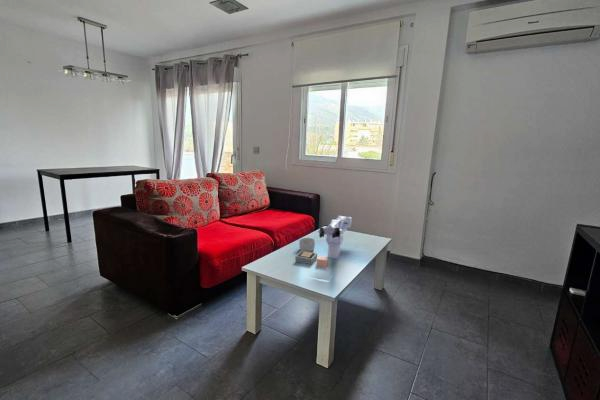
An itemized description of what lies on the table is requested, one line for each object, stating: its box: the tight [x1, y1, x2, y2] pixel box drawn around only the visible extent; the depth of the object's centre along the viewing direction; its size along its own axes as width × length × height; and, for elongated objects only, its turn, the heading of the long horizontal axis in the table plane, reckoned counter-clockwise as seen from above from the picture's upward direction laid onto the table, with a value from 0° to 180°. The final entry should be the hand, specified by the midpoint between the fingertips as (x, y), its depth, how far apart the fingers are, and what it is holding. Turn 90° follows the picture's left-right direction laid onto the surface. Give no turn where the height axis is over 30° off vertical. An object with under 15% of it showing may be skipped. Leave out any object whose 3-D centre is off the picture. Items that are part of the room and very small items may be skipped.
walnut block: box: [300, 252, 314, 259], centre depth 175 cm, size 6×6×4 cm
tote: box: [294, 250, 318, 266], centre depth 175 cm, size 11×11×4 cm
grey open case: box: [298, 236, 316, 252], centre depth 195 cm, size 14×11×8 cm
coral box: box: [316, 255, 329, 268], centre depth 170 cm, size 4×6×5 cm
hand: (326, 236), depth 162 cm, fingers open, 7 cm apart
